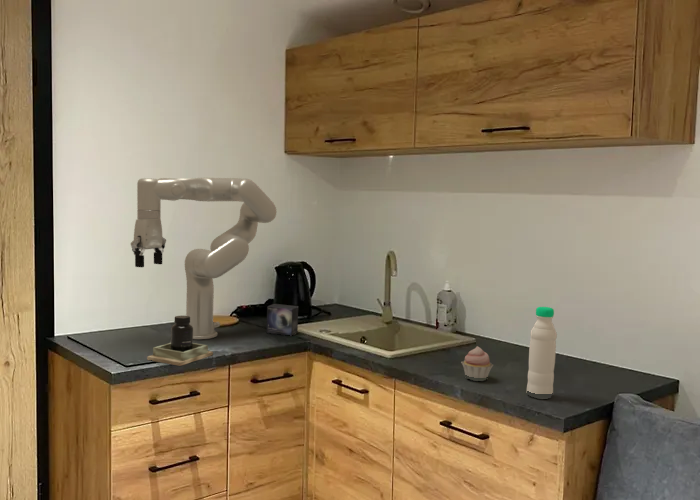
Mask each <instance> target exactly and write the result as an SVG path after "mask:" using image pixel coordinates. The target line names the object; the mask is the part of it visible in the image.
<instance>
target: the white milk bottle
mask: <svg viewBox="0 0 700 500" xmlns="http://www.w3.org/2000/svg"><path fill="white" fill-rule="evenodd" d="M554 315H555V310H554V308H553V307H550V306H549V307H548V306H538V307H537V308H536V309H535V316H536V321H535V323H534V324H533V327H532V328H531V329H530V340H529V351H528V371H527V385H526V392H527V391H529V392H531V393H535V394H552V393H553V394H554V379H555V373H554V371H555V364H556V351H557V349H556V348H557V345H556V343H557V340H556V339H557V337H558V336H557V335H558V334H557V331H556V328H555V326H554V323H553V319H554Z"/></svg>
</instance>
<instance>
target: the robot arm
mask: <svg viewBox="0 0 700 500" xmlns="http://www.w3.org/2000/svg"><path fill="white" fill-rule="evenodd" d="M136 185H137V189H136V191H137V193H136V194H137V195H136V196H137V200H136V201H137V203H136V205H137V208H136V209H137V212H136V213H137V214H136V215H137V219H135V223H134V230H133V240H132V241H131V242H130V247H131V251H132V252H133V255H134V266H135V268H144V267H145V255H144V253H145V251H146V250H154V252H153V264H154V265H163V253H164V249H165V248H166V243H167V239H166V238H165V237H164V236H163V226H162V220H161V218H162V217H161V208H162V207H161V202H162V201H164V200H165V201H171V202H172V201H173V202H175V201H179V200H184V201H185V200H189V201H196V202H197V201H198V202H241V203H242V202H243V203H242V204H241V207H240V210H239V218H238V221H237V223H236V224H235V225H233V226H232V227H231V228H229V229H228V230H226V231H224V232H223V233H221V234H220V235H218V236H217V237H215V238H214V239H213V240H212V241H211V243H210V250H208V249H206V248H205V249H204V248H194V249H192V250H190V251H189V252H188V253H187V254H186V256H185V259H184V270H185V281H186V310H185V311H186V314H185V316H190V323H189V324H190V325H191V326H192V327H193V340H209V339H213V338H217V336H218V332H217V331H216V330H215V328H219V327H220V326H221V323H220V321H214V295H215V294H214V291H215V288H214V287H215V286H214V280H213V279H217V278H220V277H222V276H223V275H225V274H227V273H228V272H229V271H231V270H232V269H234V268H236V267H237V266H238V265H240V264H241V263H242V262H244V260H246V258H247V256H248V255H249V251H250V246H249V244H250V243H251V242H252V241H253V240H254V239H255V237H256V234H257V231H258V223H261V224H267V223H271V222H273V221H274V219H275V218H276V216H277V207H276V205H275V204H274V202H273V200H272V199H270V197H269V196H268V195H267V194H266V193H265V192H264V191H263V190H262V188H260V187H259V186H258V184H257V183H256V182H254V181H253V180H252V179H249V178H240V177H239V178H238V177H237V178H234V177H232V178H231V177H194V178H193V177H192V178H170V177H169V178H167V177H160V178H145V177H144V178H139V179H138V180H137V184H136ZM161 200H162V201H161Z"/></svg>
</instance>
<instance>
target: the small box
mask: <svg viewBox="0 0 700 500" xmlns="http://www.w3.org/2000/svg"><path fill="white" fill-rule="evenodd" d="M298 324H299V305H290V304H288V305H287V304H282V303H281V304H279V303H272V304H270V305H268V306H266V334H269V333H271V334H270V335H277V334H281V335H280V336H285V335H290V336H289V337H292V335H293V336H295V335H296V334H295V333H297V332H298V331H299V330H298V328H299V325H298ZM294 334H295V335H294ZM297 334H298V333H297Z"/></svg>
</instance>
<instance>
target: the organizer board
mask: <svg viewBox="0 0 700 500" xmlns="http://www.w3.org/2000/svg"><path fill="white" fill-rule="evenodd" d="M213 354H214V352H213V351H210V350H209V345H208V344H203V343H195V342H193V349H191V350H188V351H184V352H180V351H175V350H171V342H169V343H164V344H160V345H158V346H154V347H152V355H148V356H146V359H147V361H151V360H152V362H156V363H157V362H158V363H162V364H169V365H174V366H177V367H181V366H185V365H188V364H190V363H193V362H196V361H199V360H202V359H206V358H208V357H212V356H213Z"/></svg>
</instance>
